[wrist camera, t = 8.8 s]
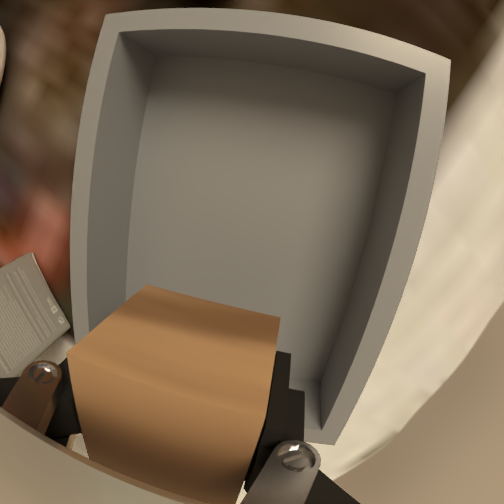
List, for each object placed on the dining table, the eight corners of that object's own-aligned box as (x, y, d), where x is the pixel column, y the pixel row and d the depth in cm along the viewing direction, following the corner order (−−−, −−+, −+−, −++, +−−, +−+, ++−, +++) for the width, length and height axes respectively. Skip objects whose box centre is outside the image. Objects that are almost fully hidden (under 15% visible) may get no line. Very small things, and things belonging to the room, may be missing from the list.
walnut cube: (146, 284, 12) (66, 352, 7) (280, 317, 11) (265, 417, 6) (143, 385, 13) (90, 463, 8) (253, 416, 13) (232, 511, 8)
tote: (152, 45, 15) (105, 14, 10) (410, 85, 13) (450, 60, 9) (119, 334, 20) (79, 375, 15) (329, 387, 19) (334, 445, 14)
